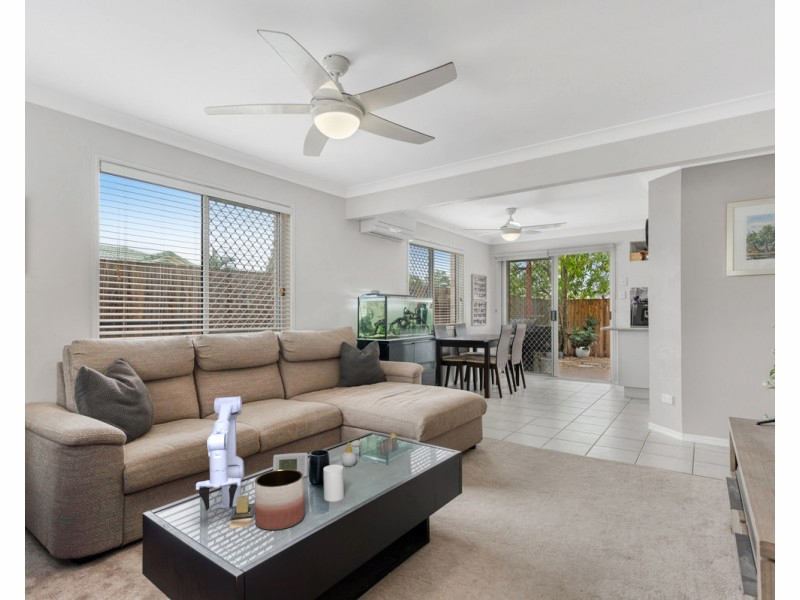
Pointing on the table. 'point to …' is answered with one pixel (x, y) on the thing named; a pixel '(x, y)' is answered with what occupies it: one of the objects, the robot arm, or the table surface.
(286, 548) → the table surface
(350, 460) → the perfume bottle
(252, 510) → the grey square frame
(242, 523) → the coaster
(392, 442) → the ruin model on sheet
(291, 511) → the planter
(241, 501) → the brushed brass bar
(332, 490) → the cup
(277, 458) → the digital clock
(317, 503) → the table surface
